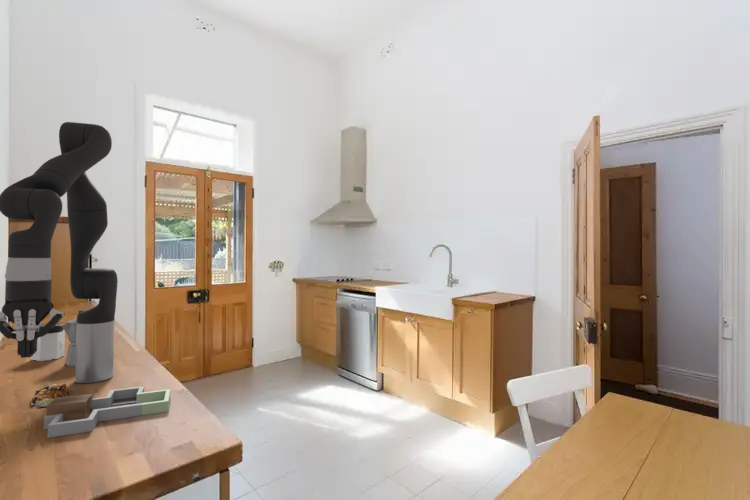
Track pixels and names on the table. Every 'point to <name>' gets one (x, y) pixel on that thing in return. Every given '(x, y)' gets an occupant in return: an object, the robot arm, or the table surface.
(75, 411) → the block
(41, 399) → the pastry
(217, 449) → the table surface
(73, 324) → the coffee maker
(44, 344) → the jar
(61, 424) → the track
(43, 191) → the robot arm
